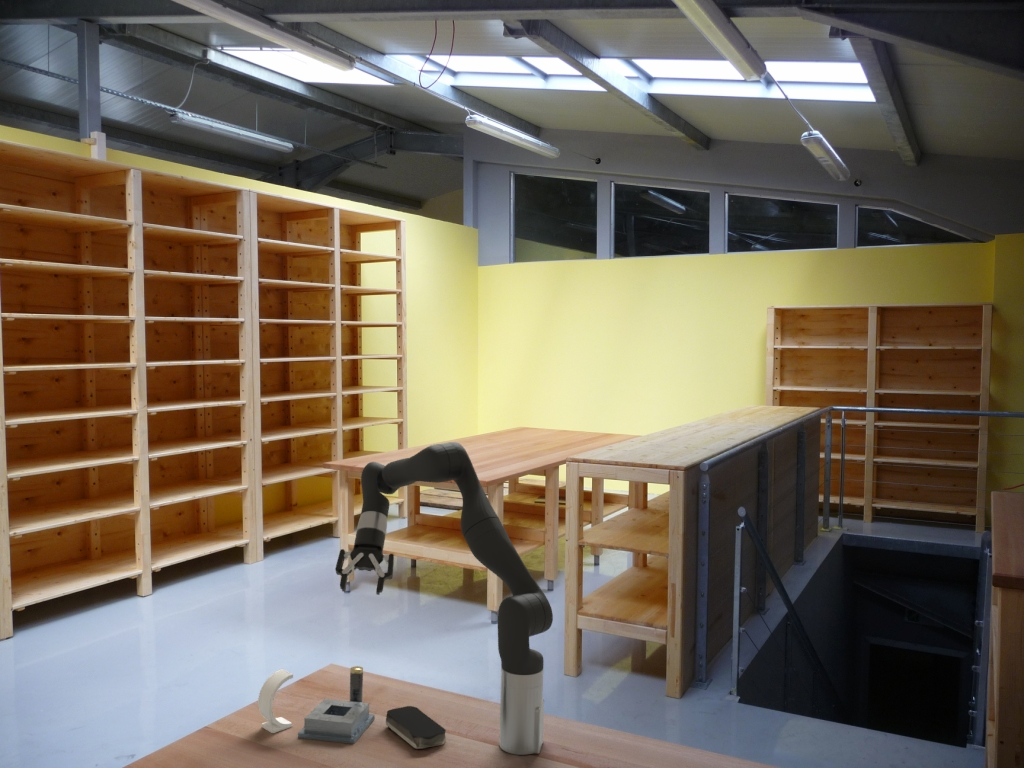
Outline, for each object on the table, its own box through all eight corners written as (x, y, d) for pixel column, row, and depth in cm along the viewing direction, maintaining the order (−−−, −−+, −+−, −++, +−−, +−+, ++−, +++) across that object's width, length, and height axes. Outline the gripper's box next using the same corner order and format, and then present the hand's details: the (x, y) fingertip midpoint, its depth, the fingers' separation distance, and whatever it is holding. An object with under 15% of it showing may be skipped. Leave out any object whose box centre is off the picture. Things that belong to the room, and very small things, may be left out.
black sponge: (382, 726, 188) (382, 710, 188) (415, 718, 193) (415, 702, 193) (416, 755, 175) (416, 738, 175) (450, 745, 180) (450, 729, 180)
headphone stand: (292, 726, 187) (293, 674, 186) (268, 735, 182) (269, 681, 182) (281, 720, 190) (282, 668, 189) (257, 728, 185) (258, 675, 185)
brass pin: (364, 705, 199) (364, 666, 199) (359, 710, 196) (360, 671, 196) (352, 704, 199) (353, 665, 199) (347, 709, 196) (348, 670, 196)
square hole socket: (374, 719, 192) (374, 701, 192) (353, 743, 179) (354, 725, 179) (321, 713, 194) (322, 696, 194) (297, 737, 181) (298, 719, 181)
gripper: (342, 523, 211) (330, 583, 201) (398, 528, 211) (388, 588, 201) (345, 536, 217) (333, 595, 207) (398, 541, 217) (389, 600, 207)
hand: (360, 592), depth 204 cm, fingers open, 8 cm apart
